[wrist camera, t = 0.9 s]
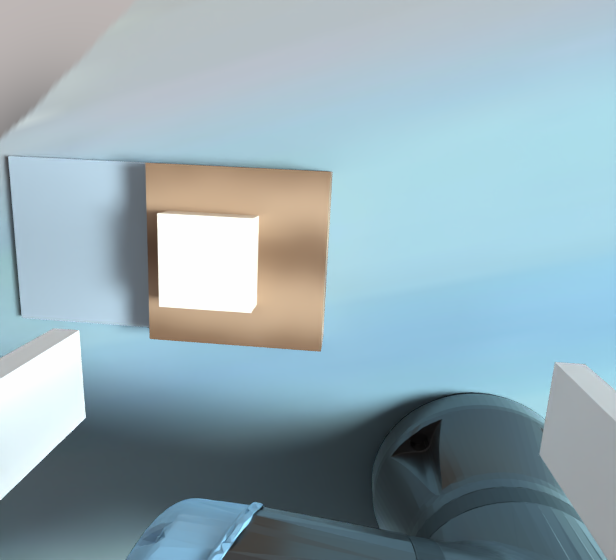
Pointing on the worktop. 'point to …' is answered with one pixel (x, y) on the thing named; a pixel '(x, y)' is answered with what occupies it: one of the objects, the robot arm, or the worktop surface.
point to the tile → (208, 261)
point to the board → (271, 252)
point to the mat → (81, 239)
